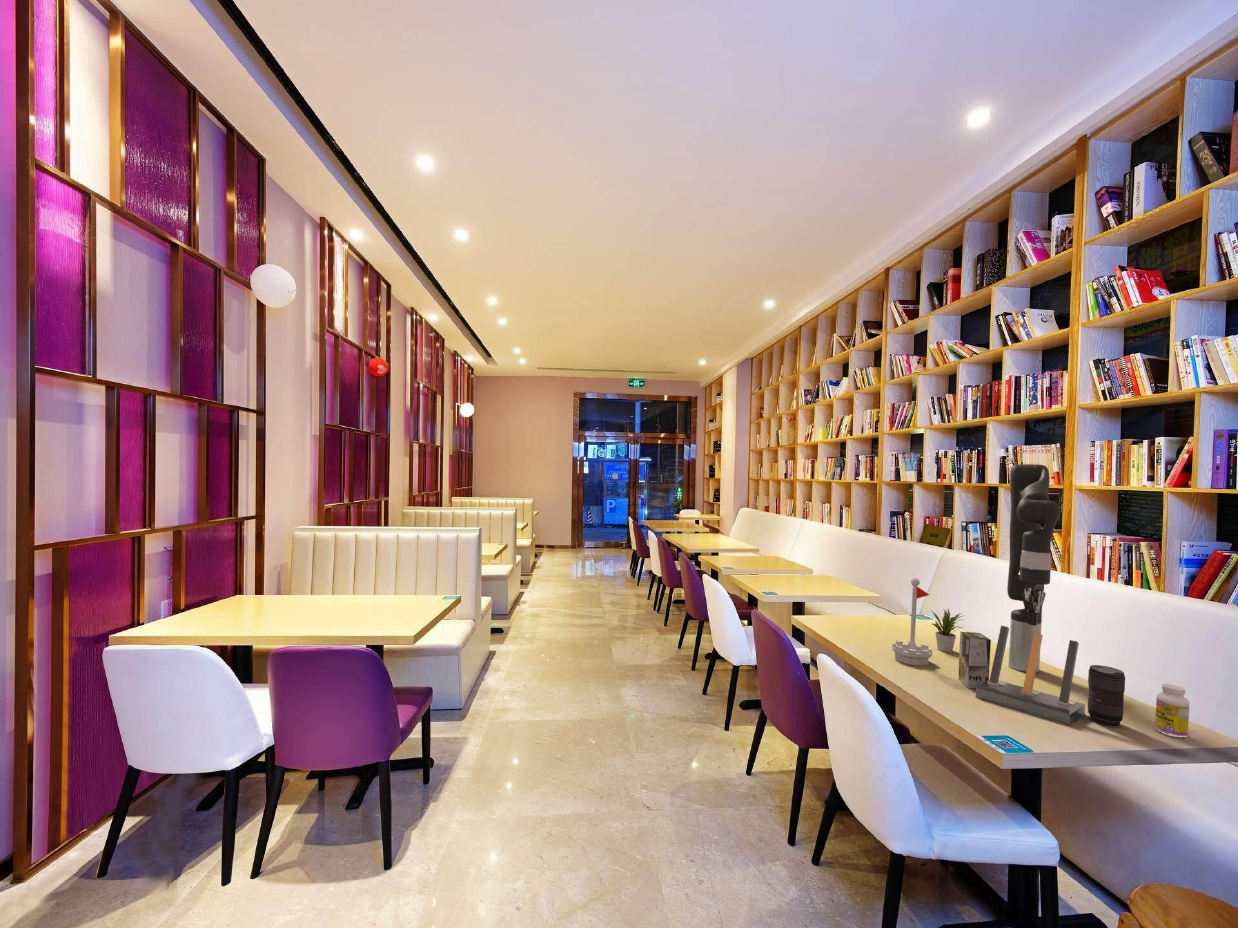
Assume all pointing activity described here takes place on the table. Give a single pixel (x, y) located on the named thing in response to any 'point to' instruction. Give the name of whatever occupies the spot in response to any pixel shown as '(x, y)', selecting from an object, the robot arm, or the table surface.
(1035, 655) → the lever mid
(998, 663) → the lever low
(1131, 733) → the table surface
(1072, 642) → the lever high
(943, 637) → the house plant
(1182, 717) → the supplement bottle
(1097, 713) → the camera lens
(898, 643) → the flag stand
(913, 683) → the table surface
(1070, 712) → the breaker panel
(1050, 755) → the table surface
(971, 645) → the coffee box
